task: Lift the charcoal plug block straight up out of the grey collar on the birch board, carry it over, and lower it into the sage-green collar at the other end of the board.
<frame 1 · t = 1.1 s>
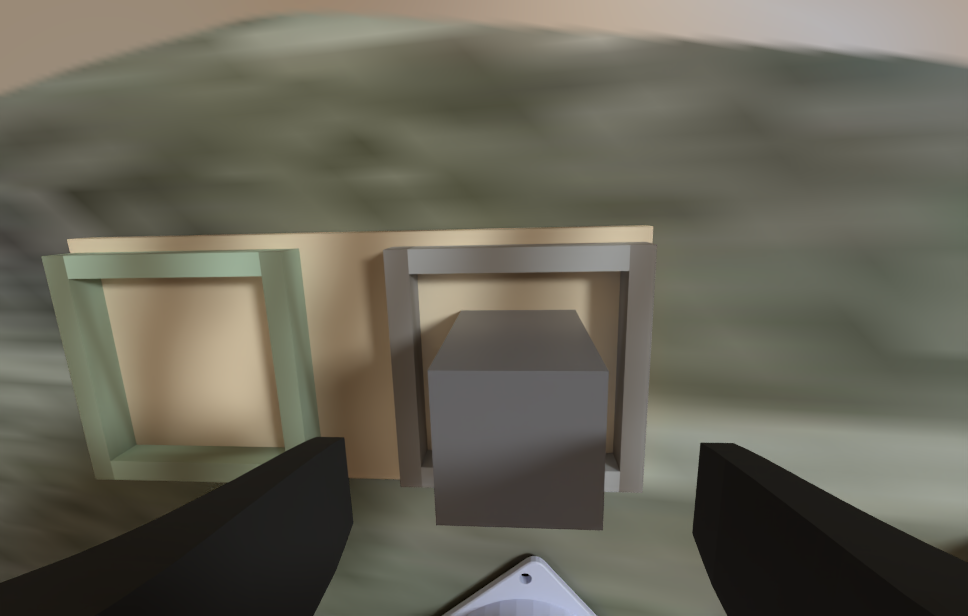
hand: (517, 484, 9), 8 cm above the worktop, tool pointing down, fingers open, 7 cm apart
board: (365, 354, 18), on the worktop
plug: (518, 363, 16), point 1 cm above the worktop, touching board
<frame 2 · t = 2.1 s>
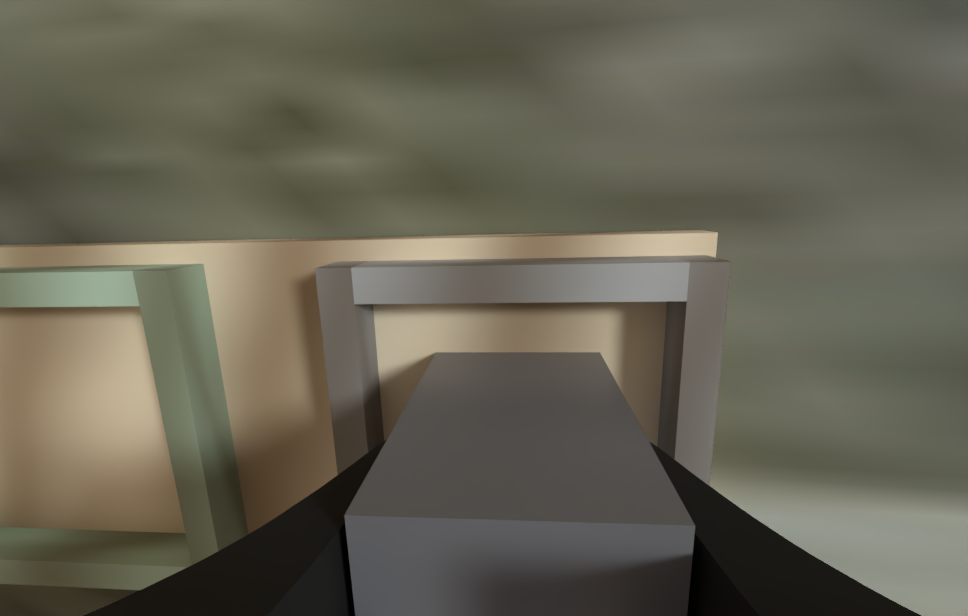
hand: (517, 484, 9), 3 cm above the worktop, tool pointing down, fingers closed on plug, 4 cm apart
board: (308, 407, 13), on the worktop
plug: (517, 427, 11), point 1 cm above the worktop, touching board, gripper
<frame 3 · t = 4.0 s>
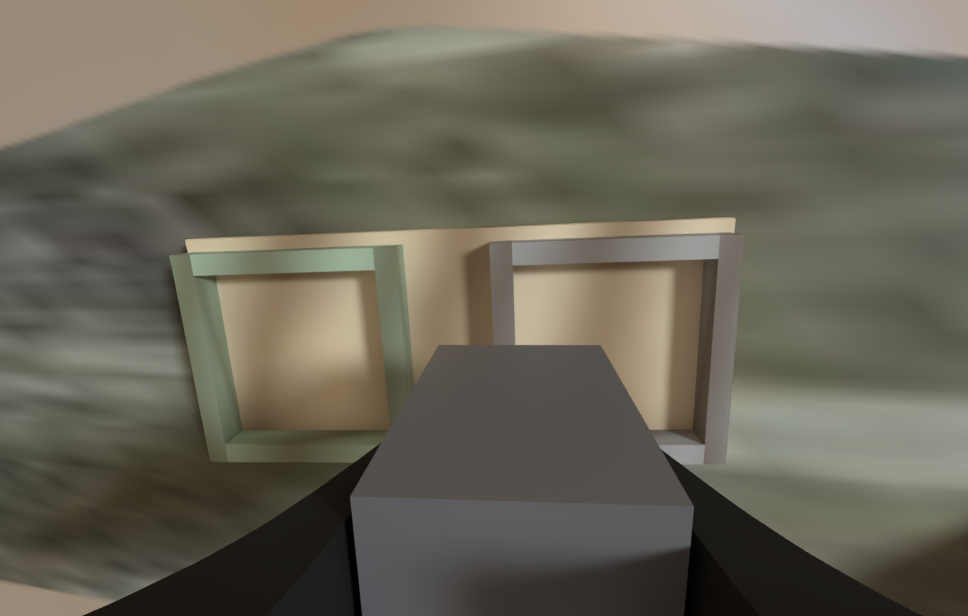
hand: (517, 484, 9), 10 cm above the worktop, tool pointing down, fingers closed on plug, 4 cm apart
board: (456, 342, 19), on the worktop
plug: (518, 419, 11), point 7 cm above the worktop, touching gripper
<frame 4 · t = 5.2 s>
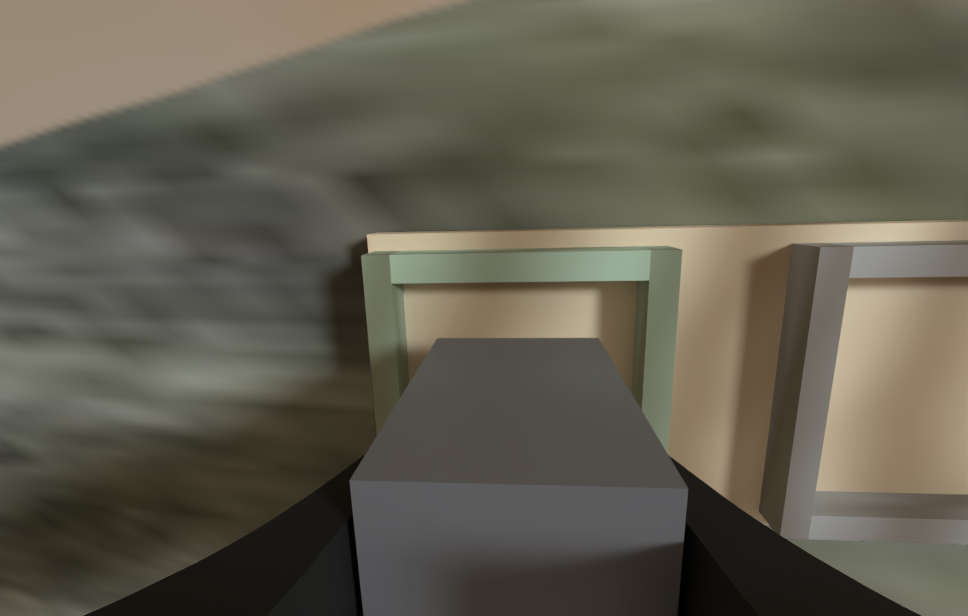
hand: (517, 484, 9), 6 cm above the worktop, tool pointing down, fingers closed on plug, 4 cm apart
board: (702, 374, 15), on the worktop
plug: (517, 412, 12), point 4 cm above the worktop, touching gripper
when the fingers open (4 cm above the worktop, at t = 6.0 s): plug stays where it is, resting on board.
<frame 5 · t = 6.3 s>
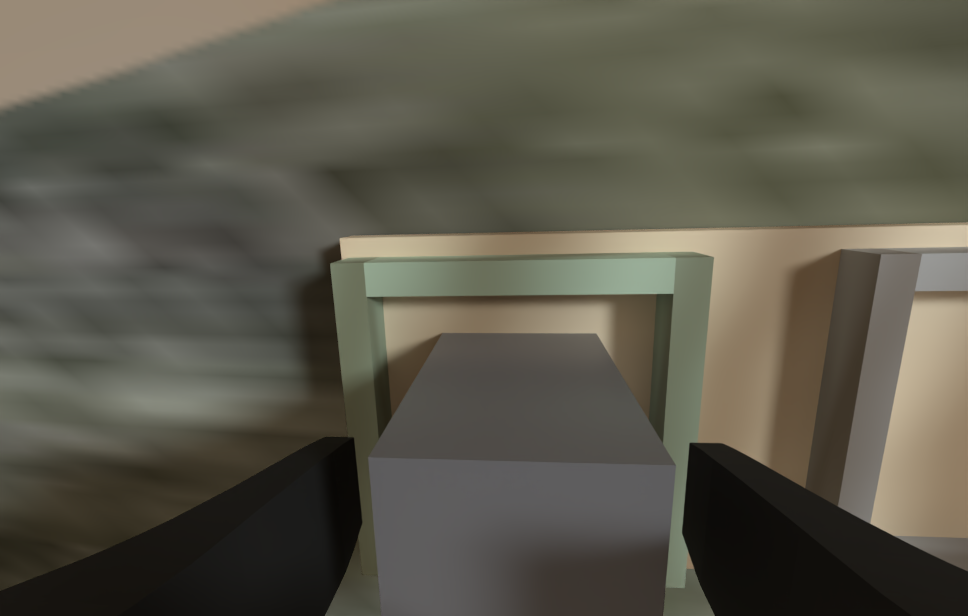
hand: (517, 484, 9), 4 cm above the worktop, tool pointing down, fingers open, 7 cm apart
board: (729, 399, 13), on the worktop
plug: (518, 404, 12), point 1 cm above the worktop, touching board
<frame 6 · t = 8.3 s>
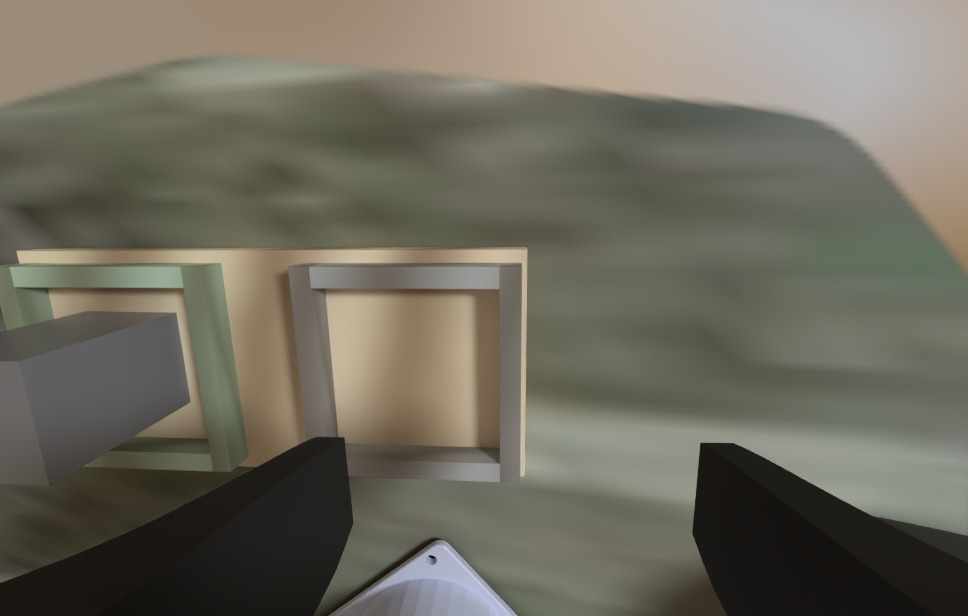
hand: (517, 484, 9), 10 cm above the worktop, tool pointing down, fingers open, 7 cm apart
battery charger: (918, 558, 20), on the worktop
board: (286, 357, 20), on the worktop
plug: (139, 357, 19), point 1 cm above the worktop, touching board
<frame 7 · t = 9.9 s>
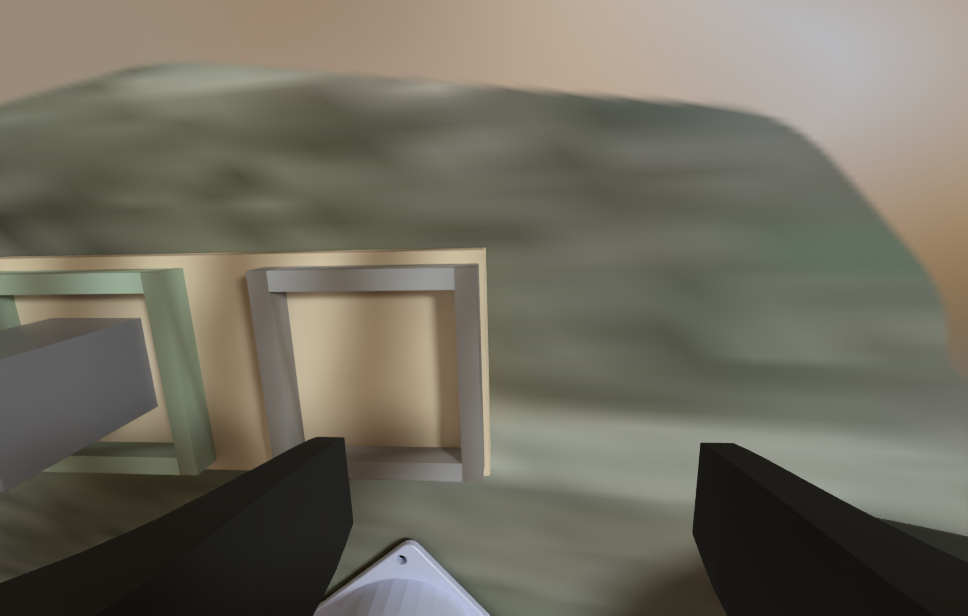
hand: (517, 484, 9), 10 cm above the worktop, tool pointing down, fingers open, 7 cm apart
battery charger: (885, 552, 20), on the worktop
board: (252, 360, 20), on the worktop
plug: (106, 362, 19), point 1 cm above the worktop, touching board
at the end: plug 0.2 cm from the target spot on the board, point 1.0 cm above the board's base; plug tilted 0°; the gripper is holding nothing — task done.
